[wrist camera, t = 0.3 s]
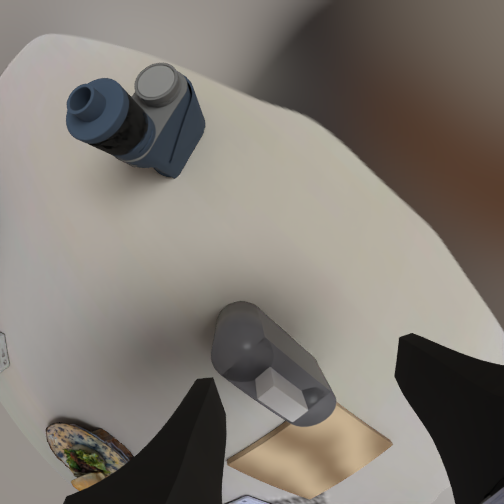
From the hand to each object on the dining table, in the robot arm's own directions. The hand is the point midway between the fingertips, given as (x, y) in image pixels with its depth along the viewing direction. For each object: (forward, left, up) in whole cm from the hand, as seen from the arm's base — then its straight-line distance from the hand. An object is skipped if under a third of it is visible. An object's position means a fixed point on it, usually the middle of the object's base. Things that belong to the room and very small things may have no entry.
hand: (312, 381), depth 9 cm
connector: (-3, -2, -10) cm, 11 cm away
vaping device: (+3, +13, -11) cm, 17 cm away
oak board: (-9, -15, -10) cm, 21 cm away
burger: (-28, +1, -11) cm, 30 cm away
